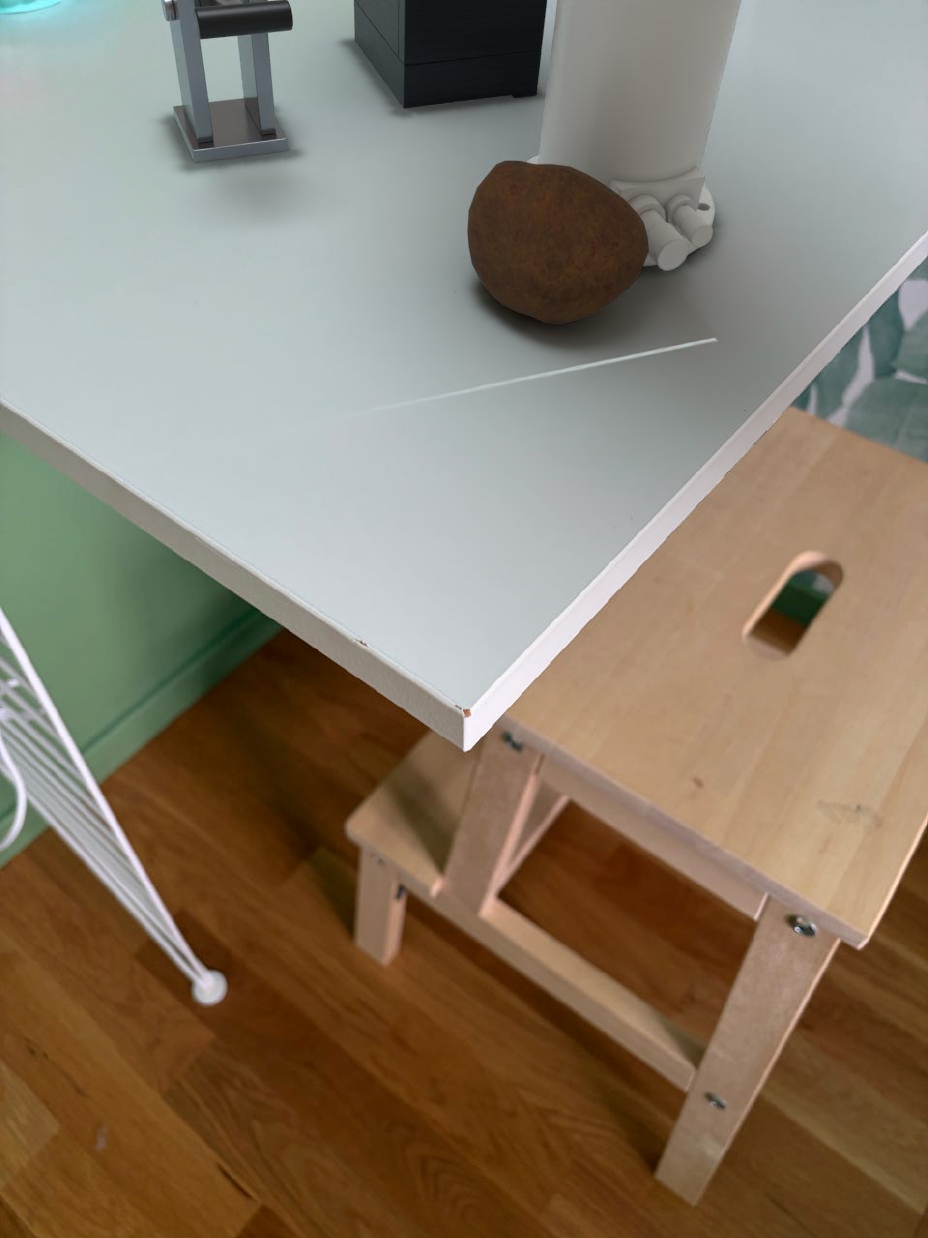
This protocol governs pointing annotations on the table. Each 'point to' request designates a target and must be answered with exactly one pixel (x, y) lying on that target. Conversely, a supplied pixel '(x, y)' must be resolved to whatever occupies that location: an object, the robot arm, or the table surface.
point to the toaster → (452, 47)
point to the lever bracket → (229, 121)
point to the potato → (553, 241)
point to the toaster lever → (240, 18)
